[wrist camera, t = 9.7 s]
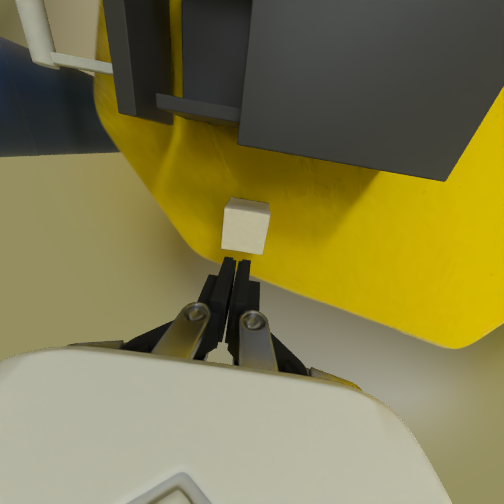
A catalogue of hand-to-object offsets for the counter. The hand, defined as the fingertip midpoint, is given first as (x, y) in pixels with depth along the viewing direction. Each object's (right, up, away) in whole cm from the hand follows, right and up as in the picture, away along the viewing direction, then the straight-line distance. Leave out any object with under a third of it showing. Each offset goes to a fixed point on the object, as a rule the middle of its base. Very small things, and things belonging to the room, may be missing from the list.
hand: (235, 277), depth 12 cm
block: (0, +6, +11) cm, 13 cm away
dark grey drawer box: (+9, +17, +5) cm, 20 cm away
